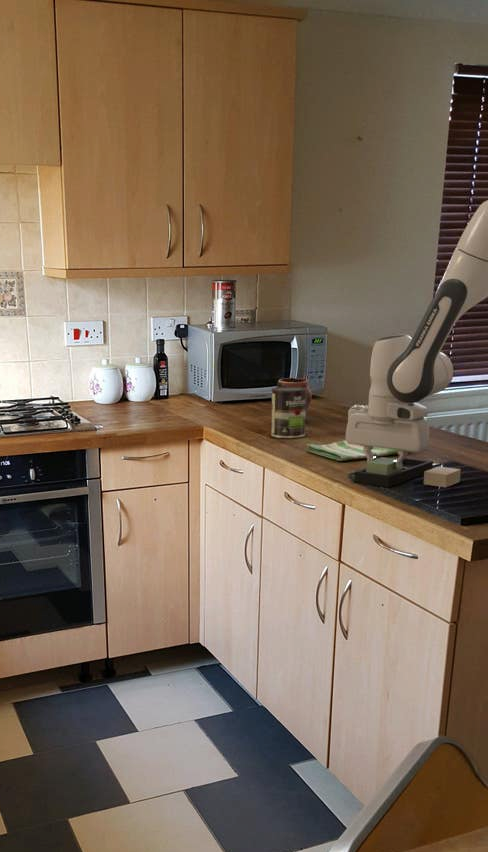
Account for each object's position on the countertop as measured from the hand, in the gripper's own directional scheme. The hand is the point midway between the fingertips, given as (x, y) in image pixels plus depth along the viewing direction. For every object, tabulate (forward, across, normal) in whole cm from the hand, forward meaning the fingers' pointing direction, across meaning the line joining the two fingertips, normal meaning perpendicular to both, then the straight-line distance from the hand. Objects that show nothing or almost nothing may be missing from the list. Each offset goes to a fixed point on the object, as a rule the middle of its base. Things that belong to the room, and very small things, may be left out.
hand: (384, 466), depth 206 cm
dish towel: (+4, -22, +25) cm, 33 cm away
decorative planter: (+4, -66, +55) cm, 86 cm away
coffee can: (+4, -53, +35) cm, 63 cm away
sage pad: (+2, 0, 0) cm, 2 cm away
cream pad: (+3, +12, +5) cm, 14 cm away
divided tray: (+3, 0, +5) cm, 6 cm away
